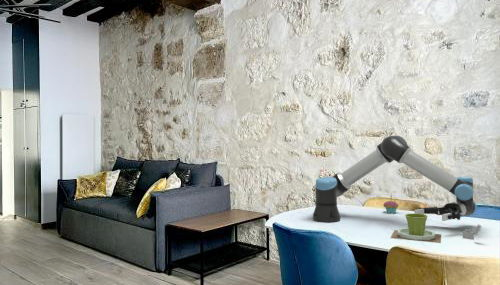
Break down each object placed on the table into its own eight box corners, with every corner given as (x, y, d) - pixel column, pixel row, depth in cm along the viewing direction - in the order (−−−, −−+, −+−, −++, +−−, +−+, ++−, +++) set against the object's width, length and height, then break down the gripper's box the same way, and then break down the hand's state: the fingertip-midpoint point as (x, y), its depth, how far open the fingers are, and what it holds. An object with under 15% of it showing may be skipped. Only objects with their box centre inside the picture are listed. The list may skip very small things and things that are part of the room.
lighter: (462, 241, 168) (462, 223, 168) (463, 240, 170) (463, 222, 169) (481, 244, 164) (481, 225, 164) (481, 243, 165) (481, 224, 165)
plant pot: (418, 238, 166) (418, 218, 166) (400, 233, 174) (400, 214, 174) (432, 235, 170) (432, 216, 170) (414, 231, 179) (414, 212, 178)
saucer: (396, 238, 169) (396, 234, 169) (400, 230, 182) (400, 227, 182) (434, 242, 162) (434, 237, 162) (435, 234, 175) (435, 230, 175)
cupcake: (399, 214, 229) (399, 194, 229) (384, 213, 230) (384, 193, 230) (397, 211, 237) (396, 192, 237) (382, 211, 239) (382, 191, 239)
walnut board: (390, 241, 170) (390, 237, 170) (394, 233, 184) (394, 230, 184) (440, 246, 160) (440, 243, 160) (441, 237, 175) (441, 234, 175)
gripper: (480, 222, 178) (455, 228, 167) (430, 213, 199) (404, 218, 188) (480, 206, 178) (455, 211, 167) (430, 199, 199) (404, 203, 188)
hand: (428, 215), depth 177 cm, fingers open, 13 cm apart
